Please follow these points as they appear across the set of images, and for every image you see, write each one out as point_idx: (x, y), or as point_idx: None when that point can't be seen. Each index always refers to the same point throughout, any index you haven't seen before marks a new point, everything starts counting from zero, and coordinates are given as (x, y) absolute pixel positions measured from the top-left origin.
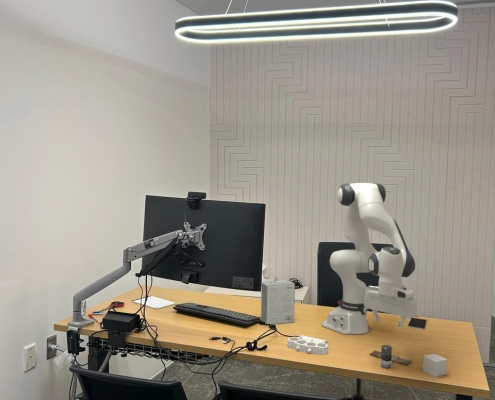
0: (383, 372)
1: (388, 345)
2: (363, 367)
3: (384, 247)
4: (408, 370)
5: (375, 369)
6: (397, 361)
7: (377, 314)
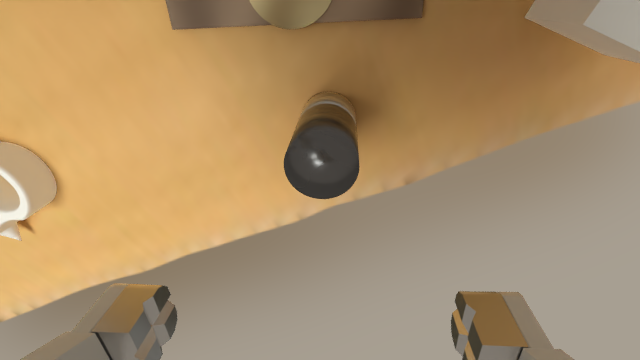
0: None
1: (317, 132)
2: (257, 196)
3: None
4: (444, 77)
5: None
6: (355, 17)
7: (59, 357)
